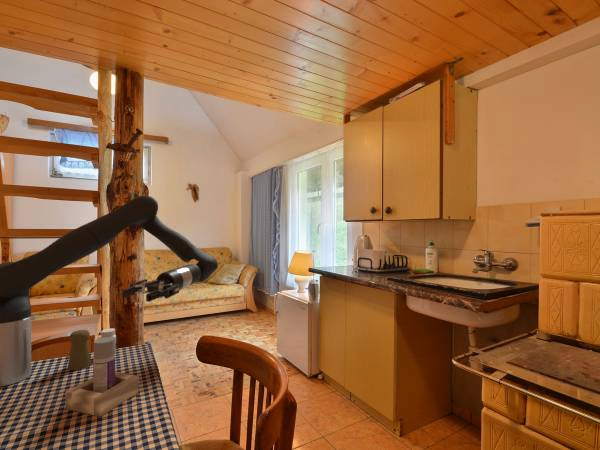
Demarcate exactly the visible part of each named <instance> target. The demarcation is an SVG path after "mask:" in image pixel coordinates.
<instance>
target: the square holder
mask: <svg viewBox="0 0 600 450" xmlns="http://www.w3.org/2000/svg"><path fill="white" fill-rule="evenodd" d="M139 389H140V376H138V375H132V374H127V373H120V372H116V371H115V386H114V387H112V388H110V389H108V390H107V391H105V392H103V393H98V392H93V377H92V378H89V379H88V380H85V381H84V382H81V383H80V384H78V385H76V386H74V387H71V388H70V389H67V390H66V391H65V392H64V393H65V398H64V399H65V400H64V401H65V402H64V403H65V404H64V405H65V409H66V410H70V411H76V412H80V413H83V414H86V415H92V416H96V417H102V416H105V414H107V413H109V412H110V411H112V410H113V409H115V408H117V407H118V406H119V405H121V404H122V403H124V402H125V401H127V400H129V399H130V398H131V397H133V396H135V395H136V394H137V393H138V394H139V392H140V391H139Z"/></svg>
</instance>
